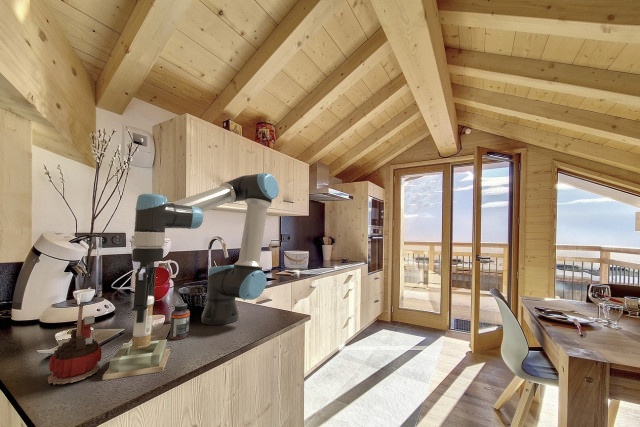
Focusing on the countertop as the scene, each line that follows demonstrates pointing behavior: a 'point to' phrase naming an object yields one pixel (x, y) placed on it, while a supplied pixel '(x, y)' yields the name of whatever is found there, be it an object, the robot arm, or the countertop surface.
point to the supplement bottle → (179, 322)
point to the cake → (76, 354)
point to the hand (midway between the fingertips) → (142, 330)
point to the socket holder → (138, 360)
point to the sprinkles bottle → (144, 339)
